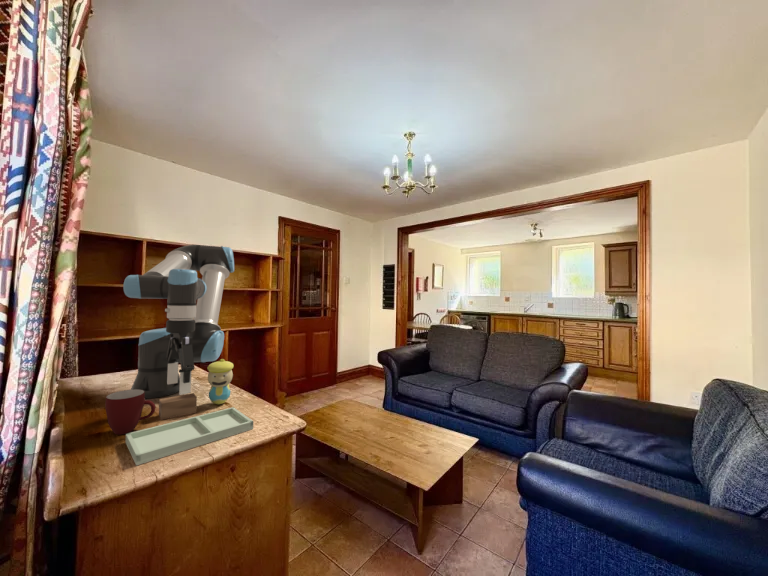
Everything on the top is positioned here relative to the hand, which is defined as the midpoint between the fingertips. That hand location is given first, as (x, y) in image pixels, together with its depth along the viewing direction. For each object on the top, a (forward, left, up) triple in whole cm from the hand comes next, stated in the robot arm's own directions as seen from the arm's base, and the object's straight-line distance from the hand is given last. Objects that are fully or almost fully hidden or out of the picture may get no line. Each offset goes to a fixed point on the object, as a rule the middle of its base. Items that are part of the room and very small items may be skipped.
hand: (178, 388), depth 95 cm
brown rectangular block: (0, 0, -8) cm, 8 cm away
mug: (+4, -12, -8) cm, 15 cm away
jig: (+18, -1, -8) cm, 20 cm away
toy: (0, +12, -8) cm, 15 cm away
